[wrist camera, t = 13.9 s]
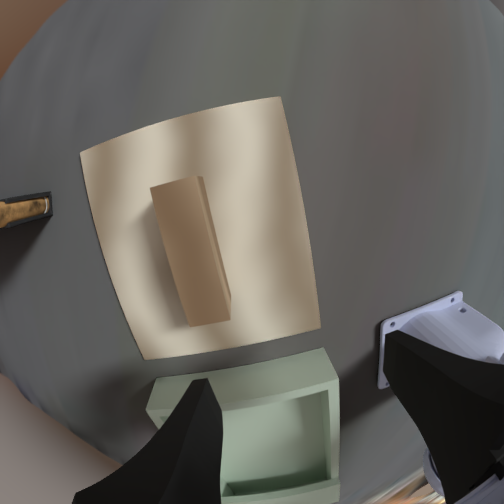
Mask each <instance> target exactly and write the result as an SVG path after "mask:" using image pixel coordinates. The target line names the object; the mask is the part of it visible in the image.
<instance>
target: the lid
mask: <svg viewBox="0 0 504 504" xmlns="http://www.w3.org/2000/svg"><path fill="white" fill-rule="evenodd" d="M80 156H81V162H82V168H83V173H84V179H85V184H86V189H87V194H88V198H89V203H90V207H91V211H92V215H93V219H94V223H95V227H96V231H97V234H98V238H99V241H100V245H101V248H102V252H103V255H104V258H105V261H106V264H107V267H108V270H109V273H110V276H111V279H112V282H113V285H114V288H115V291H116V293H117V296H118V299H119V301H120V304H121V307H122V309H123V312H124V314H125V317H126V319H127V321H128V324H129V326H130V329H131V331H132V333H133V336H134V338H135V340H136V342H137V345H138V347H139V349H140V351H141V353H142V355H143V357H144V360H149V359H159V358H167V357H175V356H183V355H190V354H197V353H204V352H210V351H216V350H222V349H228V348H233V347H239V346H244V345H249V344H254V343H259V342H264V341H269V340H273V339H278V338H282V337H286V336H291V335H295V334H299V333H303V332H307V331H311V330H315V329H319V328H321V324H320V315H319V306H318V298H317V290H316V283H315V275H314V268H313V261H312V254H311V248H310V241H309V235H308V229H307V223H306V217H305V211H304V205H303V200H302V194H301V189H300V184H299V178H298V173H297V168H296V163H295V158H294V154H293V149H292V144H291V140H290V135H289V131H288V126H287V122H286V118H285V113H284V109H283V105H282V101H281V97H280V96H279V97H272V98H265V99H259V100H253V101H247V102H241V103H236V104H231V105H226V106H221V107H217V108H212V109H208V110H204V111H199V112H195V113H192V114H188V115H184V116H180V117H177V118H173V119H170V120H166V121H163V122H160V123H157V124H153V125H150V126H147V127H144V128H141V129H138V130H135V131H133V132H130V133H127V134H124V135H122V136H119V137H116V138H114V139H111V140H109V141H106V142H104V143H101V144H99V145H96V146H94V147H92V148H89V149H87V150H85V151H83V152H80Z"/></svg>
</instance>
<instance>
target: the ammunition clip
mask: <svg viewBox="0 0 504 504" xmlns="http://www.w3.org/2000/svg"><path fill="white" fill-rule="evenodd" d="M52 215H53V213H52V200H51V191H50V192H43V193H36V194H30V195H24V196H18V197H12V198H6V199H2V200H0V229H5V228H10V227H13V226H17V225H20V224H23V223H27V222H30V221H34V220H38V219H41V218H45V217H49V216H52Z"/></svg>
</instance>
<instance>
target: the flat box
mask: <svg viewBox="0 0 504 504" xmlns="http://www.w3.org/2000/svg"><path fill="white" fill-rule="evenodd" d="M203 378H208V380H209V382H210V385H211V387H212V389H213V392H214V394H215V396H216V399H217V401H218V403H219V405H220V408H221V410H222V417H223V445H222V459H221V472H220V491H221V504H330V503H334V502H338V501H339V495H340V481H339V477H338V474H339V445H340V405H339V378H338V376H337V374H336V372H335V370H334V368H333V366H332V364H331V362H330V360H329V358H328V356H327V354H326V352H325V350H324V348H323V347H322V348H319V349H315V350H311V351H307V352H304V353H300V354H295V355H291V356H287V357H283V358H278V359H274V360H269V361H265V362H260V363H255V364H250V365H244V366H239V367H233V368H228V369H221V370H215V371H209V372H202V373H194V374H186V375H178V376H168V377H158V378H156V381H155V384H154V386H153V389H152V392H151V395H150V398H149V401H148V404H147V407H146V412H147V413H148V415H149V416H150V418H151V419H152V421H153V422H154V424H155V425H156V427H157V428H158V429H160V428H161V426H162V425H163V424H164V422H165V421H166V420H167V418H168V417H169V416H170V414H171V413H172V411H173V410H174V408H175V407H176V405H177V404H178V402H179V401H180V399H181V398H182V396H183V394H184V393H185V391H186V390H187V388H188V387H189V385H190V383H191V382H192V381H193V380H196V379H203Z"/></svg>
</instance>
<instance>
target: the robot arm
mask: <svg viewBox="0 0 504 504" xmlns="http://www.w3.org/2000/svg"><path fill="white" fill-rule="evenodd" d="M462 296H463V293H462V292H461V291H457V292H454V293H452V294H450V295H448V296H445V297H443V298H441V299H438V300H436V301H433V302H431V303H428V304H426V305H424V306H421V307H418V308H416V309H413V310H411V311H408V312H405V313H403V314H400V315H397V316H394V317H392V318H389V319H386V320H384V321H383V322H382V323H381V329H380V356H379V372H378V384H377V386H378V388H379V389H383V388H386V387H388V386H390V387H391V389H392V390H393V392H394V393H395V395H396V396H397V398H398V399H399V401H400V402H401V403H402V405H403V406H404V408H405V409H406V411H407V412H408V414H409V415H410V416H411V418H412V419H413V421H414V422H415V424H416V425H417V427H418V429H419V430H420V432H421V434H422V436H423V438H424V440H425V443H426V445H427V448H426V450H425V452H424V455H423V468H424V473H425V476H426V479H427V481H428V482H429V484H430V485H431V487H432V488H433V489H434V490H435V491H436V492H437V493H438V494H440V495H442V496H443V497H445V501H446V504H504V331H503V330H502V329H501V328H500V327H499V326H498V325H497V324H496V323H494V322H493V321H491V320H490V319H488V318H487V317H485V316H484V315H482V314H481V313H479V312H478V311H476V310H475V309H473V308H472V307H470V306H469V305H467V304H466V303H464V302H463V301H462ZM392 322H393V323H392ZM391 323H392V325H390V324H391ZM222 445H223V417H222V410H221V408H220V405H219V403H218V401H217V399H216V396H215V394H214V392H213V389H212V387H211V385H210V382H209V380H208V378H203V379H196V380H193V381H192V382H191V383H190V385H189V387H188V388H187V390H186V391H185V393H184V394H183V396H182V398H181V399H180V401H179V402H178V404H177V405H176V407H175V408H174V410H173V411H172V413H171V414H170V416H169V417H168V418H167V420H166V421H165V422H164V424H163V425H162V426H161V428H160V429H159V430H158V431H157V433H156V434H155V435H154V436H153V438H152V439H151V440H150V441H149V442H148V443H147V444H146V445H145V446H144V447H143V448H142V449H141V450H140V451H139V452H138V453H137V454H136V455H135V456H134V457H132V458H131V459H130V460H129V461H128V462H126V463H125V464H124V465H123V466H122V467H120V468H119V469H118V470H116V471H115V472H113V473H112V474H110V475H109V476H107V477H106V478H104V479H103V480H101V481H99V482H97V483H96V484H94V485H92V486H90V487H88V488H85V489H83V490H81V491H79V492H77V493H76V494H75V496H74V499H73V502H72V504H221V491H220V472H221V459H222Z"/></svg>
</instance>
